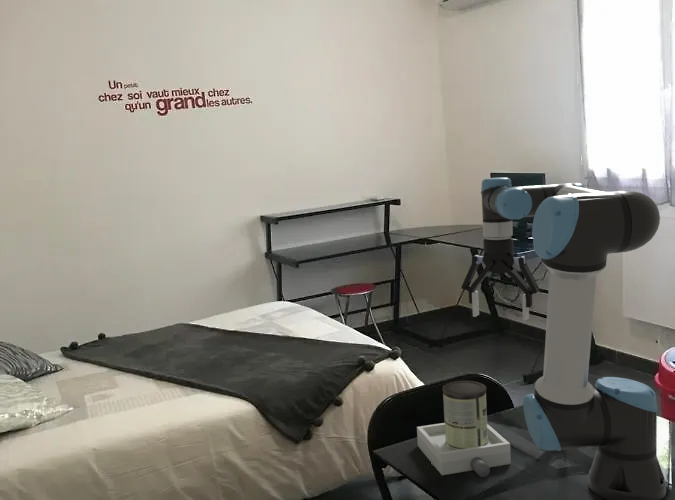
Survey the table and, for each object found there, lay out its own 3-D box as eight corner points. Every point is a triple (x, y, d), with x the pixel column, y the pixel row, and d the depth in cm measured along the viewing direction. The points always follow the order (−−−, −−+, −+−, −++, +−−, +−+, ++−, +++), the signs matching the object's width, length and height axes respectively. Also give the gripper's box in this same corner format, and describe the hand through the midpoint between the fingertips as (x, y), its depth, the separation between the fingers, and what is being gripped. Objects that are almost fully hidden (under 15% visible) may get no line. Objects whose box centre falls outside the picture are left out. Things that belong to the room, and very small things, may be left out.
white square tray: (518, 471, 158) (518, 450, 157) (448, 483, 155) (447, 461, 154) (480, 436, 178) (480, 417, 178) (417, 445, 175) (416, 426, 174)
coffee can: (443, 435, 173) (441, 380, 171) (485, 434, 172) (483, 379, 170) (446, 453, 163) (443, 395, 161) (490, 452, 162) (488, 394, 160)
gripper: (550, 236, 176) (552, 317, 179) (458, 235, 190) (461, 311, 193) (541, 240, 170) (543, 324, 173) (447, 238, 183) (450, 317, 186)
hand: (500, 317), depth 183 cm, fingers open, 13 cm apart
